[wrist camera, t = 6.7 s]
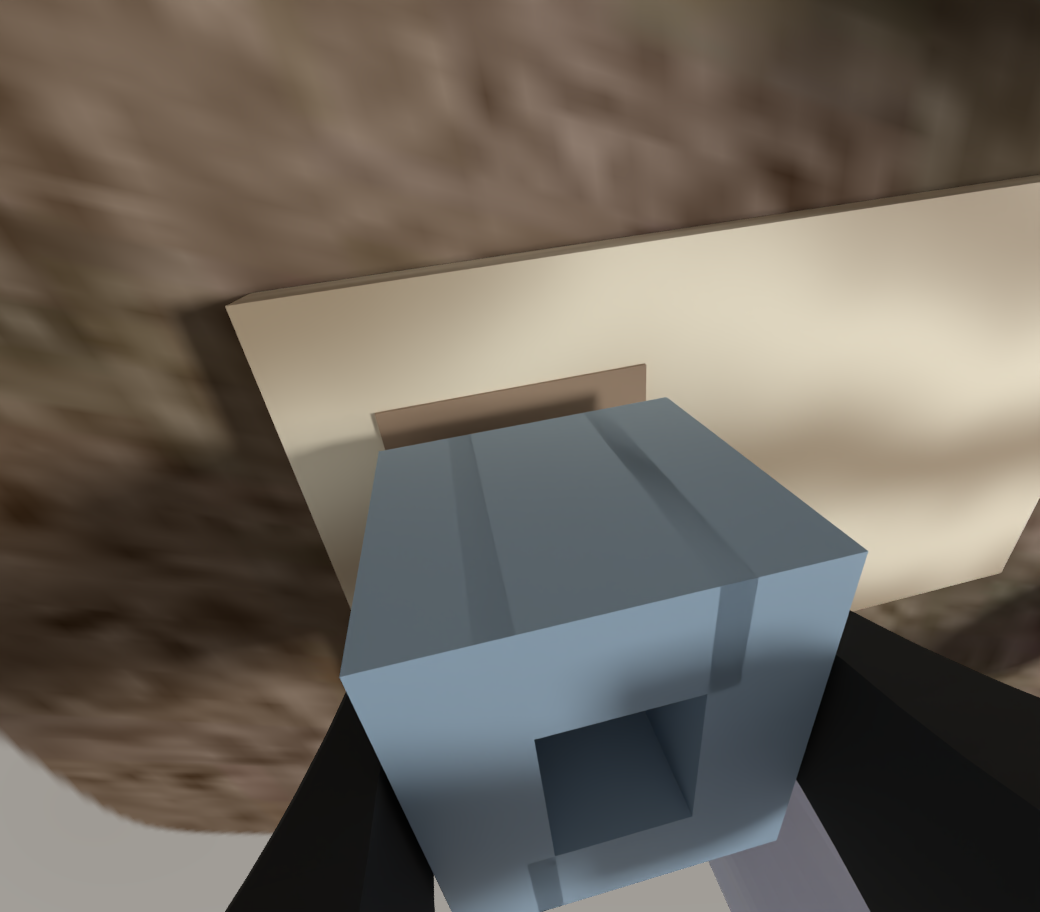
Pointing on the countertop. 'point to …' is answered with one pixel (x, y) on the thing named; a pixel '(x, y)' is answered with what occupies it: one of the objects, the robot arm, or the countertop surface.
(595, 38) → the countertop surface
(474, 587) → the block
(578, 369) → the base plate
